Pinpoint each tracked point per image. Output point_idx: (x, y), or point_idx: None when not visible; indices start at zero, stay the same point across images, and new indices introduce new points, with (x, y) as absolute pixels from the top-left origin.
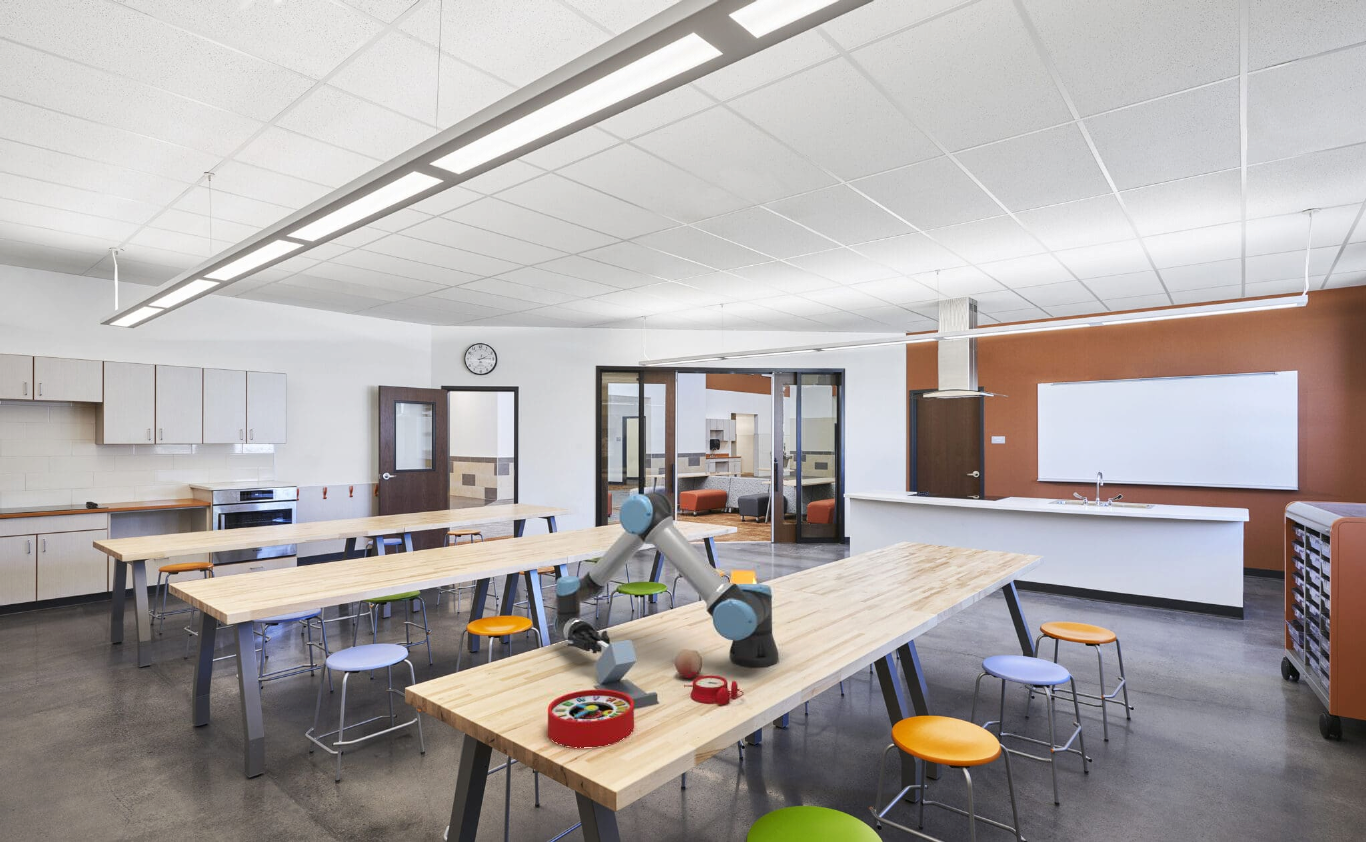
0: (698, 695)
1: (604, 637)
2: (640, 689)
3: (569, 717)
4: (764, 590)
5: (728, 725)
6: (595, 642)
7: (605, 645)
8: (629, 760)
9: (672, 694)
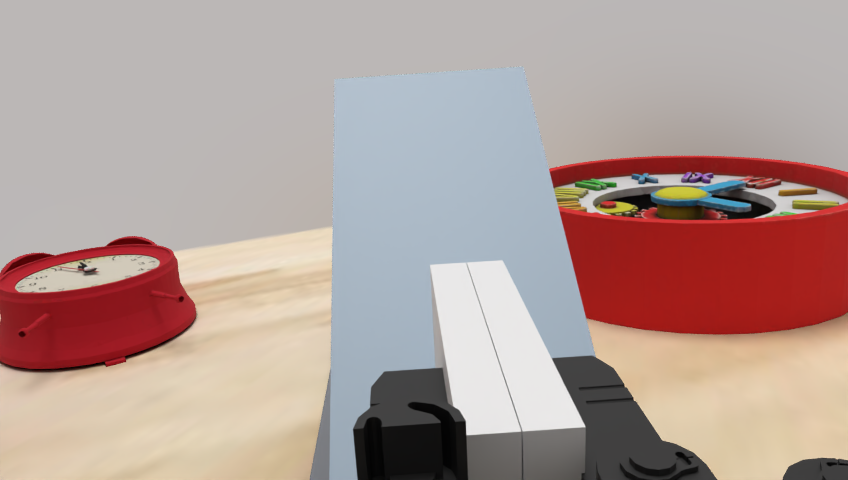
0: (184, 290)
1: (361, 423)
2: (325, 427)
3: (761, 183)
4: None
5: (263, 240)
6: (624, 449)
7: (488, 279)
8: None
9: (212, 370)
